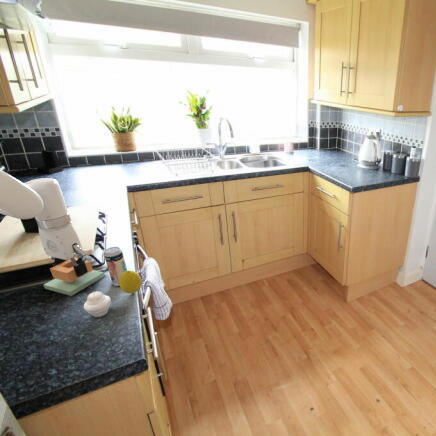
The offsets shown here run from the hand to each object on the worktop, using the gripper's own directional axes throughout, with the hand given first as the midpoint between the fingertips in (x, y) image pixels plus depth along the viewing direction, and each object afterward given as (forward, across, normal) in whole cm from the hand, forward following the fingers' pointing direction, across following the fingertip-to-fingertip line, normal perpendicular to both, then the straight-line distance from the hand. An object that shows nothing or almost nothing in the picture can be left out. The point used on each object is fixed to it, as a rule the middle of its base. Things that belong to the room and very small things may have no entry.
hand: (72, 271), depth 100 cm
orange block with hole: (+1, 0, 0) cm, 1 cm away
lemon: (+4, +22, +1) cm, 22 cm away
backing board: (+4, 0, 0) cm, 4 cm away
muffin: (+4, +20, -9) cm, 23 cm away
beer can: (+4, +14, +4) cm, 15 cm away
